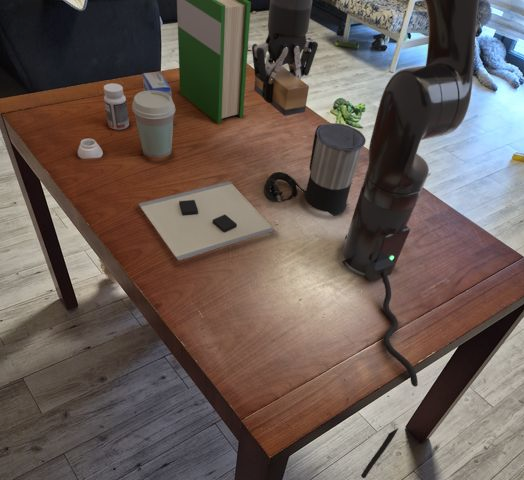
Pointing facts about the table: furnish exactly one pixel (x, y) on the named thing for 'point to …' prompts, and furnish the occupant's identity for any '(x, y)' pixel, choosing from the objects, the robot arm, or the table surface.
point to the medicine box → (156, 83)
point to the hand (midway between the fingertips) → (279, 98)
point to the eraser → (286, 92)
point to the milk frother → (326, 169)
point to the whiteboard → (204, 220)
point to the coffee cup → (154, 122)
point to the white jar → (89, 149)
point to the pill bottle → (116, 106)
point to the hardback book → (214, 54)
